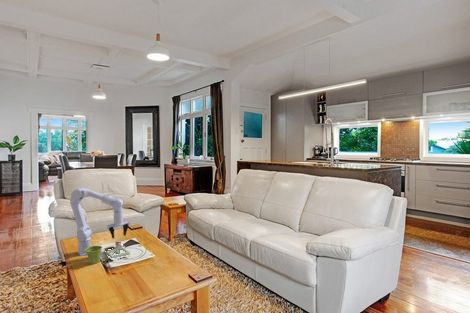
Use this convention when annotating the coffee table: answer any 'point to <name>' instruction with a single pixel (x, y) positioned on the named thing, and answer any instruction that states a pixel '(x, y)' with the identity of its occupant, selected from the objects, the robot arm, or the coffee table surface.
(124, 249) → the tray
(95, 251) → the plant pot
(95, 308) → the coffee table surface
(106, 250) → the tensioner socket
